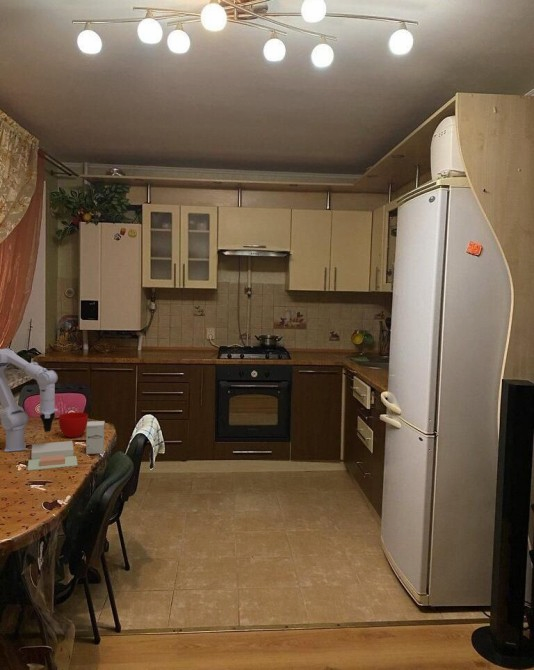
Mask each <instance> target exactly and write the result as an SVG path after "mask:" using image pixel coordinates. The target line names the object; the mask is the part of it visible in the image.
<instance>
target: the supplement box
mask: <svg viewBox="0 0 534 670" xmlns="http://www.w3.org/2000/svg"><path fill="white" fill-rule="evenodd" d="M105 424H106V422H105V420H100V421H99V420H98V421H97V420H96V421H92V420H91V421H87V426H86V429H85V430H86V435H85V436H86V437H85V440H86V441H85V447H86V448H85V454H86V455H91V454H92V455H93V454H94V455H95V454H104V451H105V426H106V425H105Z"/></svg>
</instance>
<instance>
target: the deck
mask: <svg viewBox="0 0 534 670" xmlns="http://www.w3.org/2000/svg"><path fill="white" fill-rule="evenodd" d="M74 453H75V452H74V443H73V440H67V441H55V442H43V443H42V442H41V443H33V444H32V445H31V454H30V455H31V460H36V459H41V457H44V456H55V455H65V457H69V456H75V455H74Z"/></svg>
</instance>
